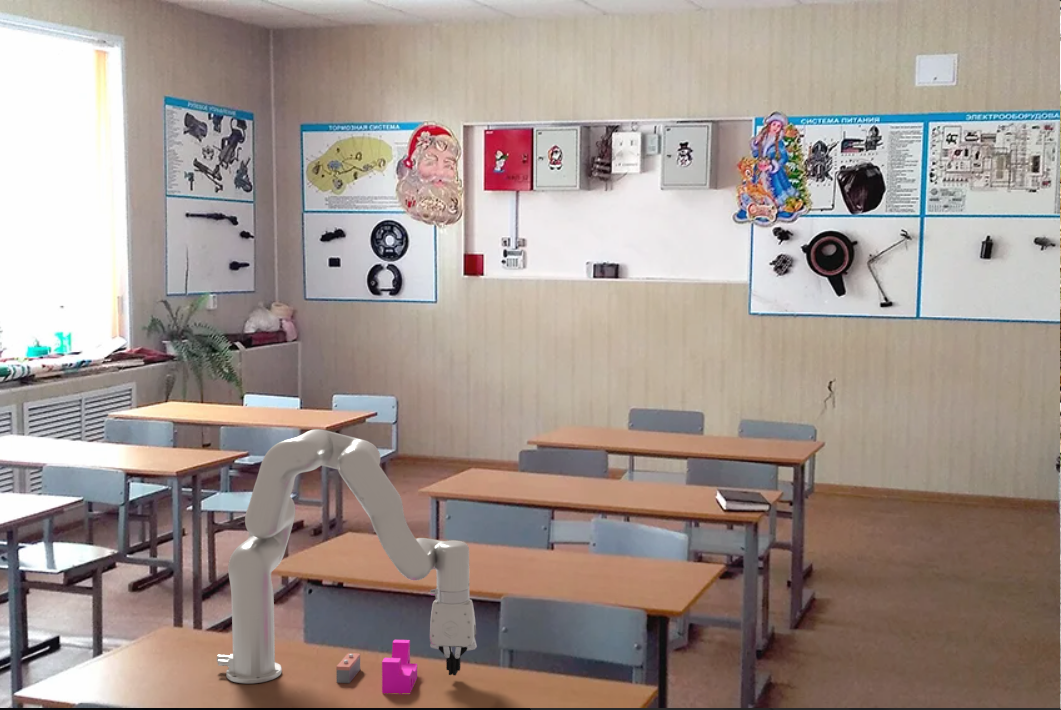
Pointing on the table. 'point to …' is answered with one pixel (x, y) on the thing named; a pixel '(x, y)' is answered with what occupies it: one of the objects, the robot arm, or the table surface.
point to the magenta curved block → (398, 669)
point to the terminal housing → (348, 668)
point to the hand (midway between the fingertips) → (453, 673)
